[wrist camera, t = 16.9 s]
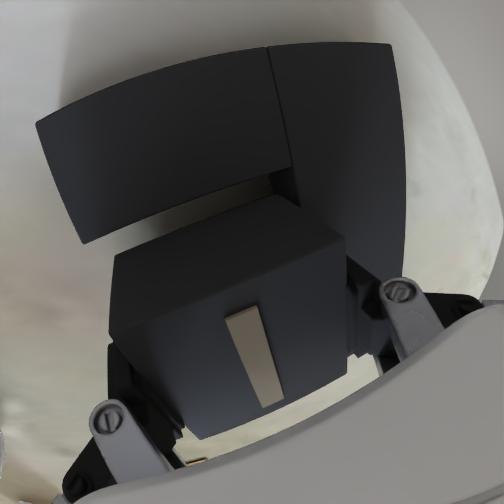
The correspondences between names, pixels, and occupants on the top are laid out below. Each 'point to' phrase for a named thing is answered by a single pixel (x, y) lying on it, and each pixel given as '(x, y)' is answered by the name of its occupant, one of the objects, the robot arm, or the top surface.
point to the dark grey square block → (234, 313)
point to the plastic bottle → (2, 452)
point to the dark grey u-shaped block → (244, 142)
